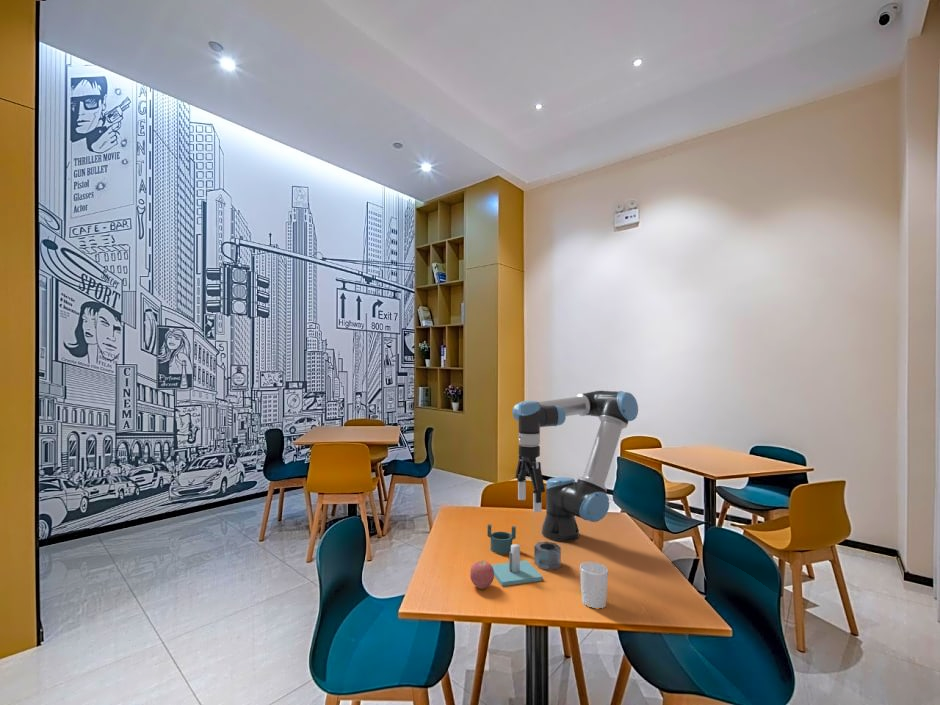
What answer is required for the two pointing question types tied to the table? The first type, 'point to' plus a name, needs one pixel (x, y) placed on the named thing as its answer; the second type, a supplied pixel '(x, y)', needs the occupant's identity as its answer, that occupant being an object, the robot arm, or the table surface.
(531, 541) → the table surface
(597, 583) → the white cup
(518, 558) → the stand
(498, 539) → the bracket
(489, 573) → the apple
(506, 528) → the table surface
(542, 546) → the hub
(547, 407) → the robot arm
